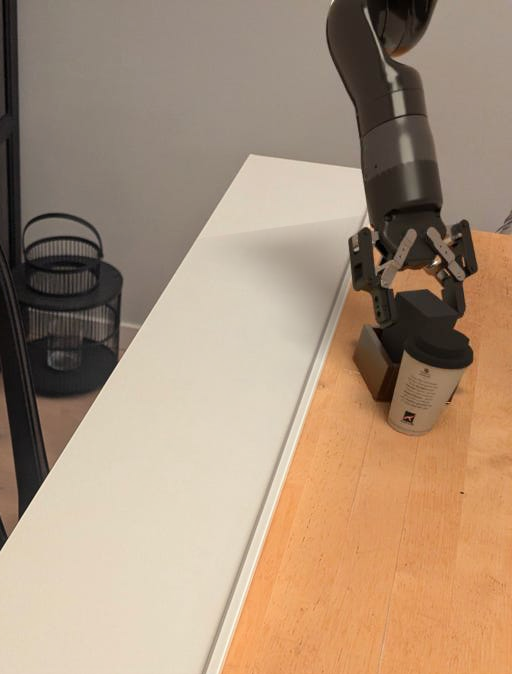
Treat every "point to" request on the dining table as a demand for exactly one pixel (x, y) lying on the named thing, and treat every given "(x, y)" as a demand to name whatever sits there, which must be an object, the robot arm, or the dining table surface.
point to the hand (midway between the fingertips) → (422, 323)
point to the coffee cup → (428, 378)
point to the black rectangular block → (415, 319)
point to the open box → (377, 364)
